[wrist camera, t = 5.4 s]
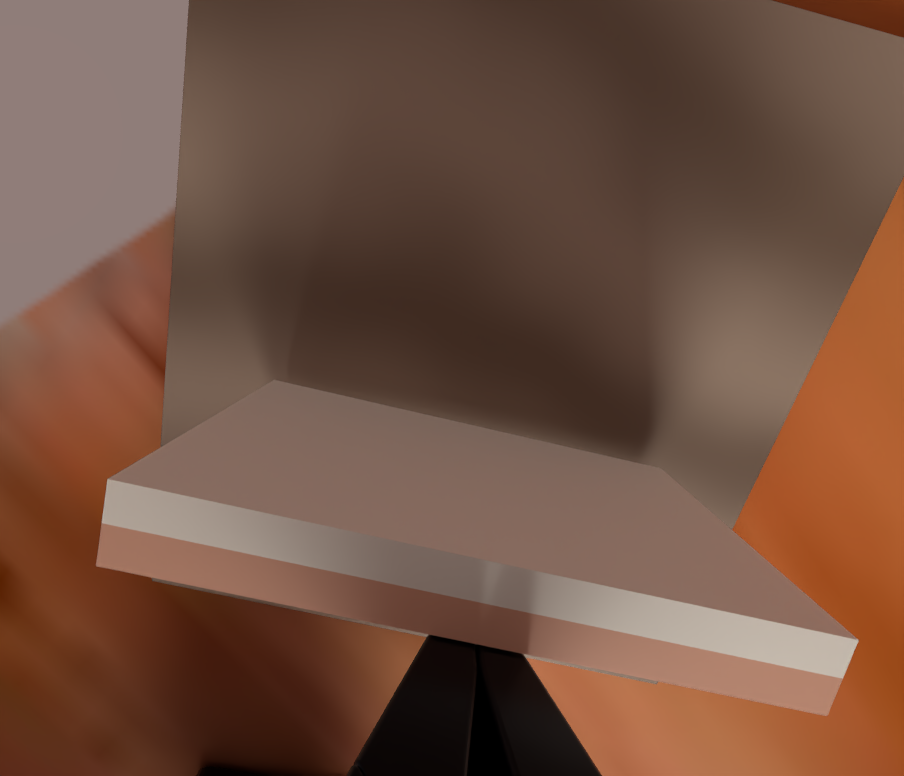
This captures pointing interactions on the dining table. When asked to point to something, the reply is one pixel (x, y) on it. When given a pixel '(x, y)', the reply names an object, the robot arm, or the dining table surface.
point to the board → (529, 216)
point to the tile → (470, 544)
